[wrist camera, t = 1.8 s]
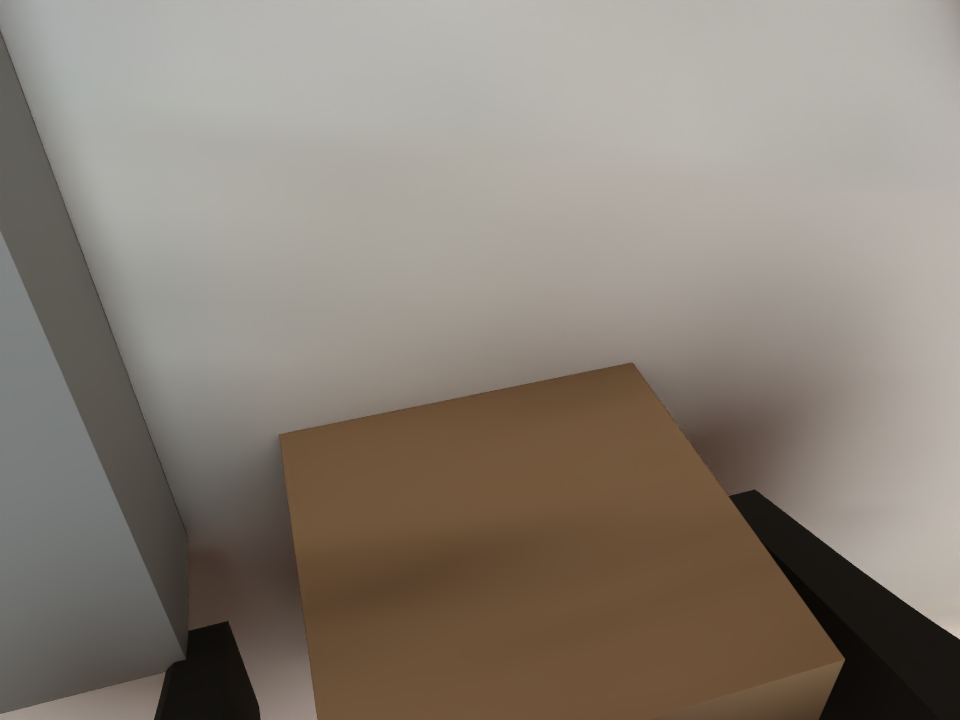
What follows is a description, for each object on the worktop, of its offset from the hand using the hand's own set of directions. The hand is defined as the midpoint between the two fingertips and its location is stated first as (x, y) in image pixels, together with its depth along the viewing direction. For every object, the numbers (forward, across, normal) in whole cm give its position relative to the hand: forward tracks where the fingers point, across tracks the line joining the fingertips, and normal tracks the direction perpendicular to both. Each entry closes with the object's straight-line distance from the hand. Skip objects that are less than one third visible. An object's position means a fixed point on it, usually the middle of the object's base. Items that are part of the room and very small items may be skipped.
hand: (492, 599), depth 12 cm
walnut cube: (+2, 0, 0) cm, 2 cm away
